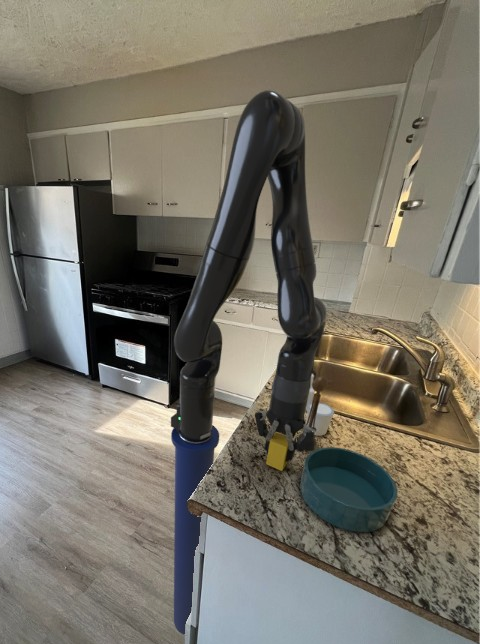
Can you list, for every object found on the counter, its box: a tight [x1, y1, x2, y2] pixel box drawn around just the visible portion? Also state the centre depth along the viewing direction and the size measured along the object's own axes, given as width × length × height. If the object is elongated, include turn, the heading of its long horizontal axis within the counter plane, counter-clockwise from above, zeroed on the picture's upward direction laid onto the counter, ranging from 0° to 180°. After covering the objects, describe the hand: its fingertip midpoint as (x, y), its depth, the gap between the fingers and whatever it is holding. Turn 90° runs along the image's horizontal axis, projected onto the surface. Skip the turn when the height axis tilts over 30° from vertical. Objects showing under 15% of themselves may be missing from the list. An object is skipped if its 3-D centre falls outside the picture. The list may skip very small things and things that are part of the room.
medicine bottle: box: [305, 369, 317, 412], centre depth 98 cm, size 7×7×12 cm
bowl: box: [299, 446, 398, 533], centre depth 66 cm, size 17×17×6 cm
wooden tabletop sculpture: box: [297, 375, 334, 452], centre depth 78 cm, size 6×5×20 cm
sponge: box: [265, 432, 289, 472], centre depth 73 cm, size 4×4×7 cm
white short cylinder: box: [305, 402, 335, 437], centre depth 87 cm, size 7×7×7 cm
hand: (278, 455), depth 74 cm, fingers closed on sponge, 4 cm apart
